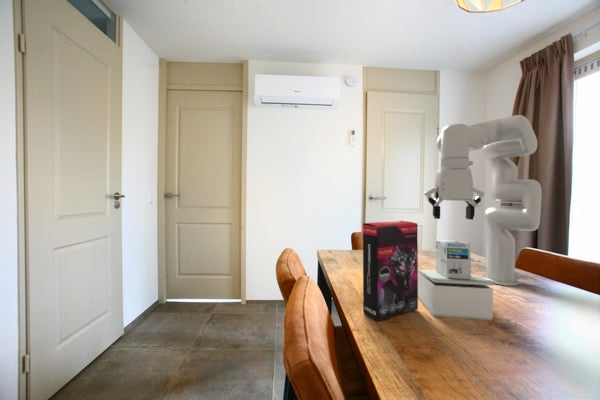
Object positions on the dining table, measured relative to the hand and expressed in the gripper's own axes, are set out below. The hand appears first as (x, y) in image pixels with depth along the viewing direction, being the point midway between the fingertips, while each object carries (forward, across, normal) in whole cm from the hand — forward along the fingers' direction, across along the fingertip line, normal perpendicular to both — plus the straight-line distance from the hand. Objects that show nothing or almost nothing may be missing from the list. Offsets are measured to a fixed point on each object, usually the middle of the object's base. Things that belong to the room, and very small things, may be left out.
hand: (453, 218), depth 81 cm
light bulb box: (+18, 0, +1) cm, 18 cm away
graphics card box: (+28, +20, +7) cm, 36 cm away
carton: (+28, 0, +1) cm, 28 cm away
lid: (+19, 0, +1) cm, 19 cm away
